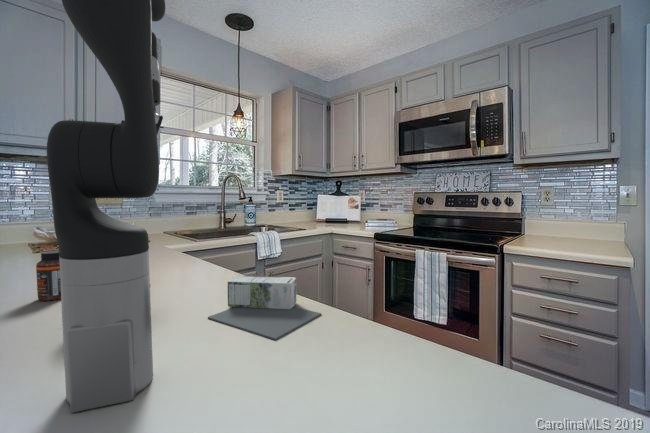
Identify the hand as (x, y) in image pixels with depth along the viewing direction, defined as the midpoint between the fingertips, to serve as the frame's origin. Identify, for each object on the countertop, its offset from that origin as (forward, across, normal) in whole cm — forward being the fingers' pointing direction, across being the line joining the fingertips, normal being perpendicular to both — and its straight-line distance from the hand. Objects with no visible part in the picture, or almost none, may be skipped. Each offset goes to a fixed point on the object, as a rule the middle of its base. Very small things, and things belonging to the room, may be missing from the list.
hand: (142, 161), depth 69 cm
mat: (+32, -26, -10) cm, 42 cm away
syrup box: (+29, -14, -11) cm, 34 cm away
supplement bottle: (+32, +26, +9) cm, 42 cm away
